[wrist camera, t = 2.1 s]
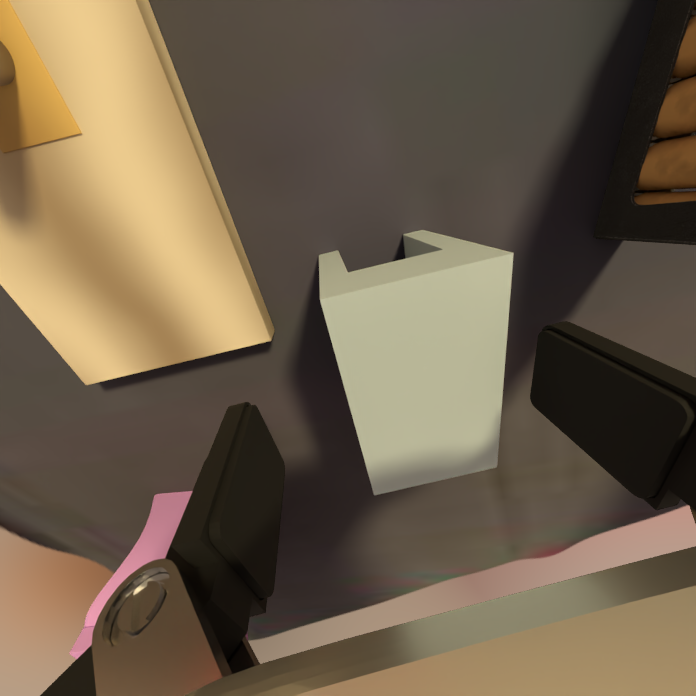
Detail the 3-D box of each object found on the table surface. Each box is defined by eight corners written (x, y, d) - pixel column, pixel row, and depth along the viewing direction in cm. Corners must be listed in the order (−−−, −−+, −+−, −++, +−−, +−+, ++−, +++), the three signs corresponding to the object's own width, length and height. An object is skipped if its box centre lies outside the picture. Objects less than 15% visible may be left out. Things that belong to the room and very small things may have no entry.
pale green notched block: (422, 229, 12) (513, 252, 7) (433, 373, 16) (496, 467, 10) (318, 255, 12) (320, 299, 7) (354, 392, 16) (374, 495, 10)
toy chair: (263, 479, 19) (140, 1114, 6) (278, 547, 23) (226, 1008, 10) (136, 490, 18) (-339, 1244, 5) (175, 558, 22) (-30, 1072, 9)
